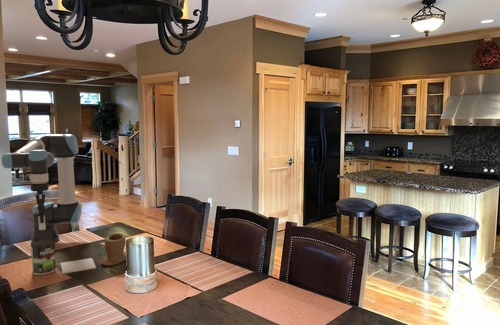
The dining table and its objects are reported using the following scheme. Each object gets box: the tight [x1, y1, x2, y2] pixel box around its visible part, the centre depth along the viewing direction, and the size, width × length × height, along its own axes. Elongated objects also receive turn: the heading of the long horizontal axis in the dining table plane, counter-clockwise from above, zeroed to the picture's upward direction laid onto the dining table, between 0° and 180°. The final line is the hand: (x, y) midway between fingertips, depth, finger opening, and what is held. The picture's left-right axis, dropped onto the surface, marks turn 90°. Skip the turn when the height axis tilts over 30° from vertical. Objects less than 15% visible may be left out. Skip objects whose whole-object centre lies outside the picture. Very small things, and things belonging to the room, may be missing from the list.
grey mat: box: [60, 257, 97, 275], centre depth 197 cm, size 15×15×1 cm
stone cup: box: [99, 232, 127, 267], centre depth 202 cm, size 15×12×15 cm
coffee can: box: [30, 240, 57, 276], centre depth 190 cm, size 10×10×14 cm
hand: (41, 226), depth 189 cm, fingers open, 13 cm apart
